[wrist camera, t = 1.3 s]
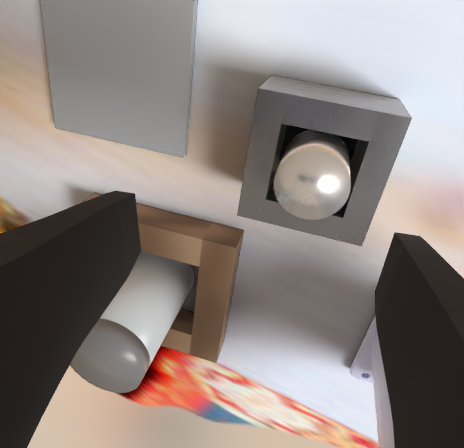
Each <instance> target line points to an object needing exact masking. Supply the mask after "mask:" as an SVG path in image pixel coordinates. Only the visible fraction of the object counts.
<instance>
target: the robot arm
mask: <svg viewBox="0 0 464 448" xmlns="http://www.w3.org/2000/svg"><path fill="white" fill-rule="evenodd" d="M140 252H141V243H140V234H139V226H138V217H137V208H136V199H135V194H133V193H127V192H120V191H113V192H110V193H106V194H103V195H101V196H98V197H95V198H93V199H90V200H88V201H85V202H83V203H80V204H78V205H75V206H73V207H70V208H68V209H65V210H63V211H60V212H58V213H56V214H53V215H51V216H48V217H45V218H43V219H40V220H37V221H34V222H32V223H29V224H26V225H24V226H21V227H18V228H16V229H13V230H10V231H7V232H4V233H1V234H0V448H27V446H28V444H29V442H30V440H31V438H32V436H33V434H34V432H35V430H36V428H37V426H38V424H39V422H40V419H41V417H42V415H43V414H44V412H45V410H46V408H47V406H48V404H49V402H50V400H51V398H52V396H53V394H54V393H55V390H56V389H57V387H58V385H59V383H60V381H61V379H62V377H63V376H64V374H65V372H66V370H67V369H68V367H69V365H70V363H71V361H72V360H73V358H74V356H75V354H76V352H77V351H78V349H79V348H80V346H81V345H82V343H83V341H84V340H85V338H86V337H87V335H88V334H89V333H90V331H91V330H92V328H93V327H94V326H95V324H96V323H97V321H98V320H99V318H100V317H101V316H102V314H103V313H104V311H105V310H106V309H107V307H108V306H109V304H110V303H111V302H112V300H113V299H114V297H115V296H116V294H117V293H118V291H119V290H120V289H121V287H122V286H123V284H124V283H125V281H126V280H127V278H128V276H129V275H130V273H131V271H132V269H133V267H134V265H135V263H136V261H137V259H138V257H139V255H140ZM375 312H376V314H375V317H374V319H373V321H372V323H371V325H370V327H369V329H368V331H367V333H366V336H365V338H364V340H363V342H362V344H361V346H360V348H359V350H358V353H357V355H356V357H355V359H354V361H353V363H352V365H351V368H350V373H351V375H352V376H354V377H356V378H359V379H362V380H366V381H369V382H372V383H374V394H375V406H376V418H377V430H378V441H379V448H464V278H463V277H462V276H461V275H459V274H458V273H457V272H456V271H455V270H454V269H453V268H452V267H451V266H450V265H449V264H448V263H447V262H446V261H445V260H444V259H443V258H442V257H441V256H440V255H439V254H438V253H437V252H436V251H435V250H434V249H433V248H432V247H431V246H430V245H429V244H428V243H427V242H426V241H425V240H424V239H423V238H421V237H420V236H415V235H408V234H402V233H394V236H393V239H392V242H391V245H390V248H389V251H388V254H387V257H386V260H385V263H384V266H383V269H382V272H381V275H380V278H379V281H378V284H377V287H376V290H375ZM365 373H367V374H365Z"/></svg>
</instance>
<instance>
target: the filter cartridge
mask: <svg viewBox="0 0 464 448" xmlns="http://www.w3.org/2000/svg"><path fill="white" fill-rule="evenodd" d="M193 283H194V274H193V270H192V268H191V266H190V264H187V263H183V262H180V261H176V260H172V259H169V258H165V257H161V256H158V255H154V254H150V253H147V252H143V251H141V252H140V255H139V257H138V259H137V261H136V263H135V265H134V267H133V269H132V271H131V273H130V275H129V276H128V278H127V280H126V281H125V283H124V284H123V286H122V287H121V289H120V290H119V291H118V293H117V294H116V296H115V297H114V299H113V300H112V302H111V303H110V304H109V306H108V307H107V309H106V310H105V311H104V313H103V314H102V316H101V317H100V318H99V320H98V321H97V323H96V324H95V326H94V327H93V328H92V330H91V331H90V333H89V334H88V335H87V337H86V338H85V340H84V341H83V343H82V345H81V346H80V348H79V349H78V351H77V352H76V354H75V356H74V358H73V360H72V361H71V363H70V365H71V367H72V368H73V369H74V370H75V371H76V372H77V373H78V374H79V375H80V376H81V377H82V378H83V379H85V380H86V381H88V382H89V383H91V384H93V385H95V386H97V387H99V388H101V389H104V390H107V391H111V392H117V393H124V392H130V391H132V390H134V389H136V388H137V387H138V386H139V384H140V383H141V381H142V379H143V377H144V375H145V373H146V371H147V370H148V368H149V366H150V364H151V362H152V360H153V358H154V357H155V355H156V353H157V351H158V349H159V347H160V346H161V344H162V342H163V340H164V338H165V336H166V334H167V333H168V331H169V329H170V327H171V325H172V323H173V321H174V320H175V318H176V316H177V314H178V312H179V310H180V308H181V307H182V305H183V303H184V301H185V299H186V297H187V296H188V294H189V292H190V290H191V288H192V286H193Z"/></svg>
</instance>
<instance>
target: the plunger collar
mask: <svg viewBox="0 0 464 448" xmlns="http://www.w3.org/2000/svg"><path fill="white" fill-rule="evenodd" d="M411 119H412V118H411V116H410V114H409V113H408V111H407V110H406V108H405V107H404V105H403V104H402V102H401V101H400V99H396V98H390V97H385V96H380V95H374V94H369V93H364V92H358V91H353V90H348V89H343V88H337V87H332V86H327V85H321V84H316V83H311V82H306V81H300V80H295V79H290V78H284V77H279V76H274V75H272V76H270V77H269V78H268V79H267V80H266V81H265V82H264V83H263V84H262V85H261V86H260V87H259V88H258V92H257V98H256V104H255V110H254V116H253V122H252V128H251V134H250V140H249V147H248V153H247V159H246V165H245V171H244V177H243V183H242V189H241V195H240V201H239V207H238V213H237V215H238V216H242V217H246V218H250V219H254V220H258V221H262V222H266V223H270V224H274V225H278V226H282V227H286V228H290V229H294V230H298V231H302V232H306V233H310V234H314V235H318V236H322V237H326V238H330V239H334V240H339V241H343V242H347V243H351V244H355V245H359V246H362V244H363V241H364V239H365V236H366V234H367V231H368V229H369V226H370V224H371V221H372V218H373V216H374V213H375V211H376V208H377V206H378V203H379V201H380V198H381V195H382V193H383V190H384V188H385V185H386V183H387V180H388V178H389V175H390V172H391V170H392V167H393V165H394V162H395V160H396V157H397V155H398V152H399V149H400V147H401V144H402V142H403V139H404V137H405V134H406V132H407V129H408V126H409V124H410V121H411ZM287 125H291V126H296V127H301V128H306V129H311V130H315V131H320V132H325V133H330V134H335V135H340V136H344V137H349V138H354V139H358V142H357V145H356V148H355V152H354V155H353V158H352V161H351V164H350V183H351V187H350V193H349V196H348V199H347V201H346V202H345V204H344V205H343V206H342V208H341V209H339V210H338V211H337V212H336V213H334V214H332V215H331V216H328V217H326V218H322V219H317V220H309V219H302V218H299V217H296V216H294V215H292V214H291V213H289V212H288V211H286V210H285V209H284V208H283V207H282V206H281V204H280V203H279V201H278V200H277V197H276V195H275V192H274V178H275V175H276V172H277V168H278V163H279V159H280V154H281V149H282V145H283V140H284V135H285V131H286V126H287Z"/></svg>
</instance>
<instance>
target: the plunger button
mask: <svg viewBox="0 0 464 448" xmlns="http://www.w3.org/2000/svg"><path fill="white" fill-rule="evenodd" d="M350 187H351V183H350V163H349V152H348V149H347V147H346V145H345V143H344V142H343V140H342V139H341V138H340V137H338V136H337V135H335V134H330V133H325V132H320V131H315V130H311V129H310V130H306V131H304V132H302V133H300V134H298V135H297V136H295V137H294V138H293V139H292V140H291V141H290V142H289V144H288V145H287V147H286V150H285V152H284V154H283V157H282V159H281V162H280V164H279V167H278V169H277V172H276V175H275V178H274V192H275V195H276V197H277V200H278V201H279V203H280V204H281V206H282V207H283V208H284V209H285V210H286V211H288V212H289V213H291V214H292V215H294V216H296V217H299V218H302V219H309V220H317V219H322V218H326V217H328V216H331V215H332V214H334V213H336V212H337V211H338V210H339V209H341V208H342V206H343V205H344V204H345V202H346V201H347V199H348V196H349V193H350Z"/></svg>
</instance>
